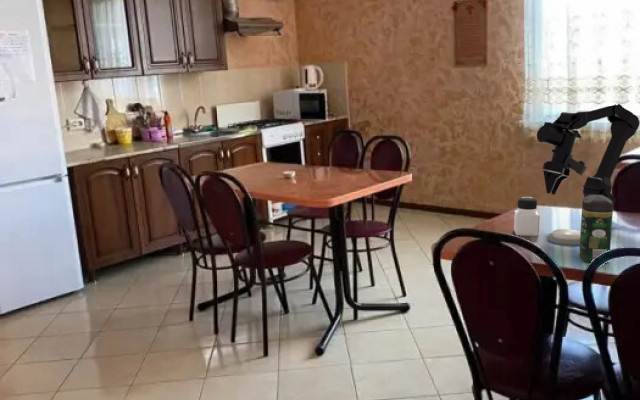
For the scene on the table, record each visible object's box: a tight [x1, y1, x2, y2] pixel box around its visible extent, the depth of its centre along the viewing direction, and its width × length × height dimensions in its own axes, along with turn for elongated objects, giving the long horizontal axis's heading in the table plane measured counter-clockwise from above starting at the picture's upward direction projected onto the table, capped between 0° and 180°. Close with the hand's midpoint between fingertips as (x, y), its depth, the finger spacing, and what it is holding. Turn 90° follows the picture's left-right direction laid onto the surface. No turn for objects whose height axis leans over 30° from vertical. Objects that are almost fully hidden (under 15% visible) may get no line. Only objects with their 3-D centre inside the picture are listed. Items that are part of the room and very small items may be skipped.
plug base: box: [546, 228, 581, 247], centre depth 198 cm, size 12×12×2 cm
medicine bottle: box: [513, 196, 540, 237], centre depth 207 cm, size 7×7×12 cm
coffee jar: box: [579, 195, 614, 263], centre depth 177 cm, size 10×8×19 cm
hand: (550, 193), depth 210 cm, fingers open, 9 cm apart
